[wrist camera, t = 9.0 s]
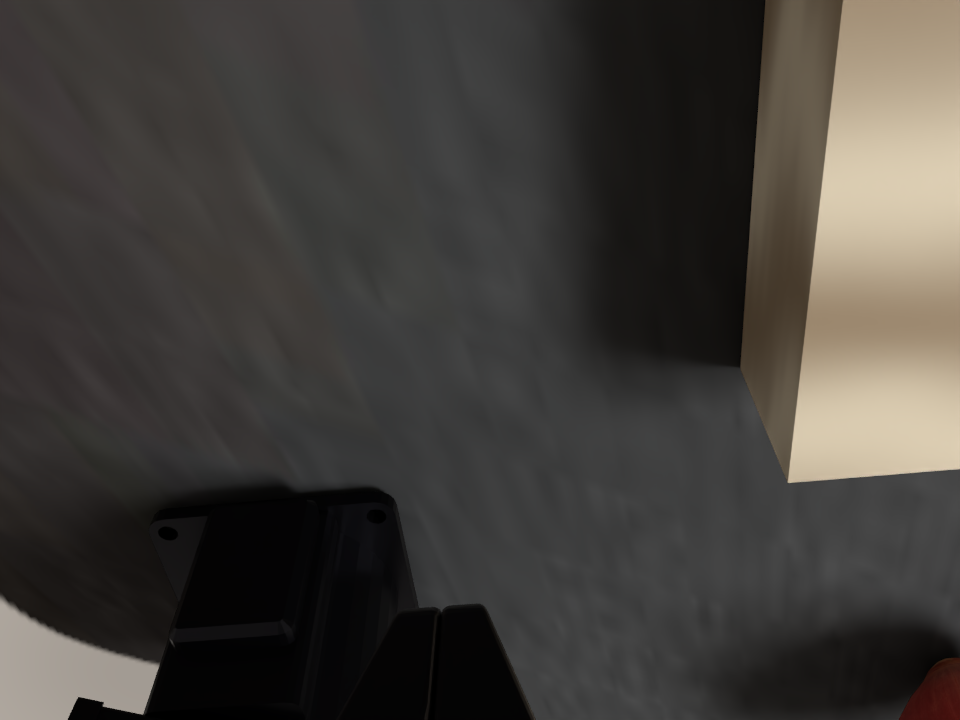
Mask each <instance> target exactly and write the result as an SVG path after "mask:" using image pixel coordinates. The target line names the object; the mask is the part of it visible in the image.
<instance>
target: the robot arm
mask: <svg viewBox="0 0 960 720" xmlns="http://www.w3.org/2000/svg"><path fill="white" fill-rule="evenodd" d="M374 509H377V510H381V511H383V512H381V513H376V512H373V511H371V510H374ZM165 526H166V527H165ZM167 527H172V528H174V529H175V530H174V529H169V528H167ZM149 535H150V537H151V540H152V542H153V544H154V547H155V549H156V551H157V554H158V556H159V558H160V560H161V563H162V565H163V567H164V570H165V572H166V574H167V577H168V579H169V581H170V583H171V586H172V588H173V590H174V593H175V595H176V597H177V600H178V602H179V604H178V607H177V610H176V613H175V616H174V619H173V622H172V625H171V628H170V631H169V639H168V642H167V645H166V648H165V651H164V654H163V657H162V660H161V663H160V666H159V669H158V672H157V675H156V678H155V681H154V684H153V687H152V690H151V693H150V696H149V699H148V702H147V705H146V708H145V711H144V714H143V715H141V714H136V713H131V712H126V711H121V710H117V709H112V708H107V707H103V704H104V702H99V701H95V700H90V699H85V698H80V697H78V699H77V701H76V703H75V705H74V707H73V710H72V712H71V713H70V716H69V718H68V720H536V719H535V717H534V714H533V712H532V710H531V708H530V705H529V703H528V701H527V699H526V696H525V694H524V692H523V690H522V687H521V685H520V683H519V681H518V678H517V676H516V674H515V672H514V669H513V667H512V665H511V663H510V660H509V658H508V656H507V654H506V651H505V649H504V647H503V645H502V643H501V640H500V638H499V636H498V634H497V631H496V629H495V627H494V625H493V622H492V620H491V618H490V616H489V613H488V611H487V609H486V608H485V607H484V606H483V605H481V604H466V605H453V606H447V607H446V608H444V609H443V611H442V612H441V611H440V609H438V608H435V607H426V608H419V606H418V601H417V597H416V592H415V587H414V583H413V578H412V573H411V569H410V564H409V559H408V555H407V550H406V545H405V541H404V536H403V531H402V527H401V522H400V517H399V513H398V508H397V504H396V502H395V500H394V498H392V497H391V496H390V495H389V494H386V493H383V492H364V493H352V494H340V495H328V496H316V497H304V498H292V499H280V500H267V501H255V502H243V503H231V504H219V505H207V506H195V507H183V508H171V509H164V510H160V511H159V512H157V513H156V514H155V516H154V518H153V520H152V523H151V525H150V528H149Z"/></svg>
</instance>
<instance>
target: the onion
mask: <svg viewBox="0 0 960 720" xmlns="http://www.w3.org/2000/svg"><path fill="white" fill-rule="evenodd" d="M899 720H960V658H946V659H943V660H941V661H939V662H937V663H936V664H935V665H934V666H933V667H932V668H930V670H929V671H928V672H927V675H926V677H925V679H924V681H923V682H922V684H921V685H920V686H919V687H918V689H917V690H916V691H915V692H914V694H913V695H912V696H911V698H910V700H909V702H908V703H907V705H906V707H905V709H904V711H903V713H902V714H901V716H900V718H899Z"/></svg>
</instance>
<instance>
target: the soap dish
mask: <svg viewBox="0 0 960 720" xmlns="http://www.w3.org/2000/svg"><path fill="white" fill-rule="evenodd" d="M740 369H741V372H742V374H743V376H744V379H745V381H746V384H747V386H748V388H749V391H750V393H751V396H752V398H753V400H754V403H755V405H756V408H757V410H758V412H759V415H760V417H761V420H762V422H763V425H764V427H765V429H766V432H767V434H768V437H769V439H770V441H771V444H772V446H773V449H774V451H775V453H776V456H777V458H778V461H779V463H780V465H781V468H782V470H783V473H784V475H785V477H786V480H787V482H788V483H793V482H805V481H817V480H830V479H842V478H854V477H867V476H879V475H891V474H903V473H916V472H928V471H940V470H953V469H960V0H766V1H765V16H764V30H763V45H762V60H761V74H760V89H759V103H758V118H757V132H756V147H755V162H754V176H753V191H752V205H751V220H750V234H749V249H748V264H747V278H746V293H745V307H744V322H743V336H742V351H741V366H740Z"/></svg>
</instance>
